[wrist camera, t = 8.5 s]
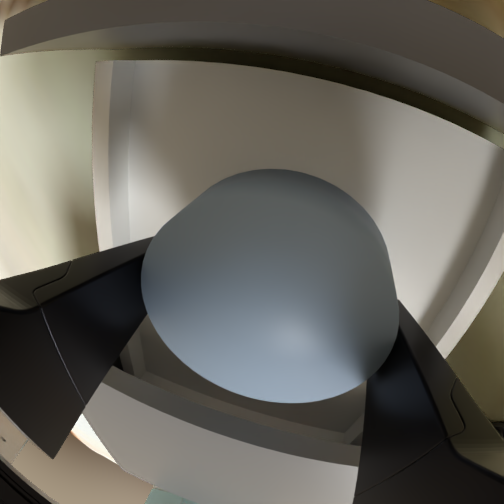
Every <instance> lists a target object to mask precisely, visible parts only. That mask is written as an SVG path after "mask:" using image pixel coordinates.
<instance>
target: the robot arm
mask: <svg viewBox="0 0 504 504" xmlns="http://www.w3.org/2000/svg"><path fill="white" fill-rule="evenodd" d="M153 237H154V236H152V237H149V238H145V239H142V240H138V241H135V242H131V243H128V244H124V245H121V246H117V247H114V248H110V249H107V250H104V251H100V252H97V253H94V254H90V255H87V256H84V257H81V258H77V259H74V260H72V261H67V262H64V263H61V264H58V265H54V266H51V267H48V268H44V269H40V270H36V271H33V272H29V273H25V274H21V275H17V276H13V277H9V278H5V279H1V280H0V504H59V503H57V502H56V501H55V500H53V499H52V498H51V497H49V496H48V495H47V494H45V493H44V492H43V491H41V490H40V489H39V488H38V487H36V486H35V485H34V484H33V483H32V482H30V481H29V480H28V479H27V478H25V477H24V476H23V475H22V474H21V473H20V472H19V471H18V470H16V469H15V468H14V467H13V466H12V465H11V464H12V463H13V461H14V460H15V458H16V457H17V455H18V454H19V452H20V451H21V450H22V448H23V447H24V445H25V444H26V443H27V441H30V442H31V443H32V444H33V445H34V446H36V447H37V448H38V449H40V450H41V451H42V452H43V453H45V454H46V455H47V456H48V457H50V458H51V459H54V457H55V456H56V454H57V453H58V451H59V450H60V448H61V446H62V445H63V443H64V441H65V440H66V438H67V436H68V435H69V433H70V431H71V430H72V428H73V426H74V425H75V423H76V422H77V420H78V418H79V417H80V415H81V414H82V412H83V410H84V409H85V407H86V405H87V404H88V402H89V401H90V399H91V397H92V396H93V394H94V393H95V391H96V390H97V388H98V387H99V385H100V384H101V382H102V380H103V379H104V377H105V376H106V374H107V373H108V371H109V370H110V368H111V367H112V365H113V364H114V362H115V361H116V359H117V358H118V356H119V355H120V353H121V352H122V350H123V349H124V347H125V346H126V344H127V343H128V342H129V340H130V339H131V337H132V336H133V334H134V333H135V331H136V330H137V328H138V327H139V326H140V324H141V323H142V321H143V320H144V318H145V317H146V316H147V314H148V313H147V311H146V307H145V304H144V300H143V295H142V289H141V271H142V264H143V260H144V257H145V254H146V251H147V248H148V247H149V245H150V243H151V241H152V239H153ZM397 300H398V299H397ZM398 306H399V326H398V332H397V337H396V340H395V342H394V345H393V348H392V350H391V352H390V354H389V355H388V357H387V359H386V360H385V362H384V363H383V364H382V365H381V367H380V368H379V369H378V370H377V371H376V372H375V373H374V374H373V375H372V376H371V377H370V378H368V379H367V383H366V400H365V413H364V424H363V435H362V444H361V452H360V460H359V467H358V474H357V481H356V487H355V493H354V498H353V503H352V504H504V423H490V421H489V420H488V419H487V417H486V416H485V415H484V413H483V412H482V411H481V409H480V408H479V407H478V405H477V404H476V403H475V401H474V400H473V399H472V397H471V396H470V394H469V393H468V392H467V390H466V389H465V387H464V386H463V384H462V383H461V382H460V380H459V379H458V378H456V377H457V376H456V374H455V373H454V372H453V370H452V369H451V367H450V366H449V364H448V363H447V362H446V360H445V359H444V358H443V356H442V355H441V353H440V352H439V351H438V349H437V348H436V347H435V345H434V344H433V343H432V341H431V340H430V339H429V337H428V336H427V335H426V333H425V332H424V331H423V329H422V328H421V327H420V325H419V324H418V323H417V322H416V320H415V319H414V318H413V316H412V315H411V314H410V313H409V311H408V310H407V309H406V308H405V306H404V305H403V304H402V303H401V301H400V300H398Z"/></svg>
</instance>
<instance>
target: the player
mask: <svg viewBox="0 0 504 504" xmlns="http://www.w3.org/2000/svg"><path fill="white" fill-rule="evenodd" d="M82 413H83V415H84V417H85V418H86V420H87V421H88V423H89V424H90V426H91V427H92V429H93V430H94V432H95V433H96V435H97V436H98V438H99V439H100V441H101V442H102V443H103V445H104V446H105V448H106V449H107V450H108V452H109V453H110V454H111V456H112V457H113V458H114V460H115V461H116V462H117V464H118V465H119V466H120V467H121V469H122V470H123V471H125V472H127V473H129V474H131V475H133V476H135V477H137V478H139V479H141V480H143V481H145V482H147V483H150V484H152V485H154V486H156V487H159V488H161V489H163V490H165V491H168V492H170V493H173V494H175V495H178V496H180V497H183V498H185V499H188V500H191V501H193V502H196V503H199V504H352V503H353V498H354V493H355V487H356V481H357V474H358V467H359V460H360V452H361V446H355V445H349V444H343V443H338V442H333V441H327V440H322V439H318V438H313V437H308V436H304V435H300V434H295V433H291V432H287V431H283V430H280V429H276V428H272V427H268V426H265V425H261V424H258V423H255V422H251V421H248V420H245V419H241V418H238V417H235V416H232V415H229V414H226V413H223V412H220V411H217V410H215V409H212V408H209V407H206V406H203V405H201V404H198V403H195V402H193V401H190V400H188V399H185V398H183V397H180V396H178V395H175V394H173V393H170V392H168V391H166V390H163V389H161V388H159V387H156V386H154V385H152V384H150V383H147V382H145V381H143V380H141V379H139V378H137V377H135V376H132V375H130V374H128V373H126V372H124V370H123V367H122V363H121V359H120V355H119V356H118V358H117V359H116V361H115V362H114V364H113V365H112V367H111V368H110V370H109V371H108V373H107V374H106V376H105V377H104V379H103V380H102V382H101V384H100V385H99V387H98V388H97V390H96V391H95V393H94V394H93V396H92V397H91V399H90V401H89V402H88V404H87V405H86V407H85V409H84V410H83V412H82Z"/></svg>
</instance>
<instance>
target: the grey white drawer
mask: <svg viewBox="0 0 504 504" xmlns="http://www.w3.org/2000/svg"><path fill="white" fill-rule="evenodd" d="M159 47H184V48H210V49H225V50H236V51H246V52H255V53H262V54H270V55H276V56H283V57H289V58H294V59H300V60H305V61H310V62H315V63H319V64H324V65H328V66H332V67H336V68H340V69H344V70H348V71H352V72H355V73H359V74H363V75H366V76H369V77H373V78H376V79H379V80H382V81H385V82H388V83H391V84H394V85H397V86H400V87H403V88H406V89H408V90H411V91H414V92H416V93H419V94H421V95H424V96H427V97H429V98H431V99H434V100H436V101H439V102H441V103H443V104H445V105H448V106H450V107H452V108H454V109H457V110H459V111H461V112H463V113H465V114H467V115H469V116H471V117H473V118H475V119H477V120H479V121H481V122H483V123H485V124H487V125H489V126H490V127H492V128H494V129H496V130H498V131H499V132H501V133H503V134H504V38H502V37H500V36H499V35H497V34H495V33H494V32H492V31H490V30H488V29H487V28H485V27H483V26H481V25H479V24H478V23H476V22H474V21H472V20H470V19H468V18H466V17H464V16H462V15H460V14H458V13H456V12H453V11H451V10H449V9H447V8H445V7H442V6H440V5H438V4H435V3H433V2H430V1H428V0H48V1H45V2H43V3H41V4H38V5H36V6H34V7H31V8H29V9H27V10H25V11H23V12H21V13H18V14H16V15H14V16H12V17H10V18H8V19H7V20H5V23H4V29H3V36H2V44H1V54H0V56H6V55H13V54H20V53H29V52H40V51H54V50H79V49H103V50H119V49H133V48H159ZM92 168H93V189H94V204H95V216H96V226H97V236H98V244H99V252H100V251H104V250H107V249H110V248H114V247H117V246H121V245H124V244H128V243H131V242H135V241H138V240H142V239H145V238H149V237H152V236H155V235H156V234H157V232H158V231H159V230H160V229H161V227H162V226H163V225H165V224H166V223H167V222H168V221H169V220H170V219H171V218H173V217H174V216H175V215H176V214H177V213H179V212H180V211H181V210H182V209H183V208H185V207H186V206H187V205H188V204H190V203H191V202H192V201H193V200H194V199H196V198H197V197H198V196H199V195H201V194H202V193H203V192H204V191H206V190H207V189H208V188H209V187H211V186H212V185H214V184H216V183H218V182H219V181H221V180H223V179H225V178H228V177H230V176H233V175H235V174H238V173H242V172H247V171H251V170H259V169H286V170H292V171H297V172H302V173H306V174H309V175H312V176H315V177H318V178H321V179H323V180H325V181H327V182H329V183H331V184H333V185H335V186H337V187H338V188H340V189H341V190H343V191H344V192H345V193H347V194H348V195H350V196H351V197H352V198H353V199H354V200H356V201H357V202H358V203H359V204H360V205H361V206H362V207H363V208H364V209H365V210H366V212H367V213H368V214H369V215H370V216H371V218H372V219H373V220H374V222H375V223H376V225H377V227H378V229H379V230H380V232H381V234H382V236H383V239H384V241H385V244H386V246H387V250H388V254H389V259H390V263H391V268H392V273H393V278H394V283H395V288H396V294H397V299H398V300H400V301H401V303H402V304H403V305H404V306H405V308H406V309H407V310H408V311H409V313H410V314H411V315H412V316H413V318H414V319H415V320H416V322H417V323H418V324H419V325H420V327H421V328H422V329H423V331H424V332H425V333H426V335H427V336H428V337H429V339H430V340H431V341H432V343H433V344H434V345H435V347H436V348H437V349H438V351H439V352H440V353H441V355H442V356H443V358H444V359H446V357H447V356H448V355H449V353H450V352H451V351H452V350H453V348H454V347H455V346H456V344H457V343H458V342H459V340H460V339H461V337H462V336H463V335H464V333H465V332H466V331H467V329H468V328H469V326H470V325H471V323H472V322H473V320H474V319H475V317H476V316H477V314H478V313H479V311H480V310H481V308H482V307H483V305H484V304H485V302H486V300H487V299H488V297H489V296H490V294H491V292H492V291H493V289H494V287H495V286H496V284H497V282H498V280H499V279H500V277H501V275H502V273H503V272H504V149H503V148H501V147H499V146H497V145H495V144H494V143H492V142H490V141H488V140H486V139H484V138H482V137H480V136H478V135H476V134H474V133H472V132H470V131H468V130H466V129H464V128H462V127H460V126H458V125H455V124H453V123H451V122H449V121H447V120H444V119H442V118H440V117H437V116H435V115H432V114H430V113H428V112H425V111H422V110H420V109H417V108H415V107H412V106H409V105H407V104H404V103H401V102H398V101H395V100H393V99H390V98H387V97H384V96H380V95H377V94H374V93H371V92H368V91H364V90H361V89H357V88H354V87H350V86H347V85H343V84H339V83H335V82H331V81H327V80H323V79H318V78H314V77H309V76H305V75H300V74H295V73H289V72H284V71H278V70H272V69H266V68H259V67H252V66H244V65H235V64H226V63H214V62H200V61H180V60H109V61H97V62H96V66H95V77H94V91H93V111H92ZM120 359H121V363H122V367H123V370H124V372H126V373H128V374H130V375H132V376H135V377H137V378H139V379H141V380H143V381H145V382H147V383H150V384H152V385H154V386H156V387H159V388H161V389H163V390H166V391H168V392H170V393H173V394H175V395H178V396H180V397H183V398H185V399H188V400H190V401H193V402H195V403H198V404H201V405H203V406H206V407H209V408H212V409H215V410H217V411H220V412H223V413H226V414H229V415H232V416H235V417H238V418H241V419H245V420H248V421H251V422H255V423H258V424H261V425H265V426H268V427H272V428H276V429H280V430H283V431H287V432H291V433H295V434H300V435H304V436H308V437H313V438H318V439H322V440H327V441H333V442H338V443H343V444H349V445H355V446H361V444H362V435H363V424H364V413H365V400H366V383H367V380H366V381H364V382H363V383H361V384H360V385H359V386H357V387H355V388H353V389H351V390H349V391H347V392H345V393H343V394H340V395H337V396H335V397H332V398H328V399H324V400H319V401H313V402H305V403H278V402H269V401H263V400H258V399H254V398H250V397H246V396H243V395H240V394H237V393H234V392H232V391H229V390H227V389H224V388H222V387H220V386H218V385H216V384H214V383H212V382H211V381H209V380H207V379H205V378H204V377H202V376H201V375H199V374H198V373H196V372H195V371H193V370H192V369H191V368H190V367H188V366H187V365H186V364H185V363H183V362H182V361H181V360H180V359H179V358H178V357H177V356H176V355H175V354H174V353H173V352H172V351H171V350H170V349H169V347H168V346H167V345H166V344H165V343H164V341H163V340H162V338H161V337H160V336H159V334H158V333H157V331H156V329H155V328H154V326H153V324H152V322H151V320H150V318H149V315H148V314H147V316H146V317H145V318H144V320H143V321H142V323H141V324H140V326H139V327H138V328H137V330H136V331H135V333H134V334H133V336H132V337H131V339H130V340H129V342H128V343H127V344H126V346H125V347H124V349H123V350H122V352H121V353H120Z"/></svg>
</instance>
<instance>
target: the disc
mask: <svg viewBox="0 0 504 504" xmlns="http://www.w3.org/2000/svg"><path fill="white" fill-rule="evenodd" d="M141 289H142V295H143V300H144V304H145V307H146V311H147V313H148V315H149V318H150V320H151V322H152V324H153V326H154V328H155V329H156V331H157V333H158V334H159V336H160V337H161V338H162V340H163V341H164V343H165V344H166V345H167V346H168V347H169V349H170V350H171V351H172V352H173V353H174V354H175V355H176V356H177V357H178V358H179V359H180V360H181V361H182V362H183V363H185V364H186V365H187V366H188V367H190V368H191V369H192V370H193V371H195V372H196V373H198V374H199V375H201V376H202V377H204V378H205V379H207V380H209V381H211V382H212V383H214V384H216V385H218V386H220V387H222V388H224V389H227V390H229V391H232V392H234V393H237V394H240V395H243V396H246V397H250V398H254V399H258V400H263V401H269V402H278V403H305V402H313V401H319V400H324V399H328V398H332V397H335V396H337V395H340V394H343V393H345V392H347V391H349V390H351V389H353V388H355V387H357V386H359V385H360V384H361V383H363V382H364V381H366V380H367V379H368V378H370V377H371V376H372V375H373V374H374V373H375V372H376V371H377V370H378V369H379V368H380V367H381V365H382V364H383V363H384V362H385V360H386V359H387V357H388V355H389V354H390V352H391V350H392V348H393V345H394V342H395V340H396V337H397V332H398V326H399V306H398V300H397V294H396V288H395V283H394V278H393V273H392V268H391V263H390V259H389V254H388V250H387V246H386V244H385V241H384V239H383V236H382V234H381V232H380V230H379V229H378V227H377V225H376V223H375V222H374V220H373V219H372V218H371V216H370V215H369V214H368V213H367V212H366V210H365V209H364V208H363V207H362V206H361V205H360V204H359V203H358V202H357V201H356V200H354V199H353V198H352V197H351V196H350V195H348V194H347V193H345V192H344V191H343V190H341V189H340V188H338V187H337V186H335V185H333V184H331V183H329V182H327V181H325V180H323V179H321V178H318V177H315V176H312V175H309V174H306V173H302V172H297V171H292V170H286V169H259V170H251V171H247V172H242V173H238V174H235V175H233V176H230V177H228V178H225V179H223V180H221V181H219V182H218V183H216V184H214V185H212V186H211V187H209V188H208V189H207V190H206V191H204V192H203V193H202V194H201V195H199V196H198V197H197V198H196V199H194V200H193V201H192V202H191V203H190V204H188V205H187V206H186V207H185V208H183V209H182V210H181V211H180V212H179V213H177V214H176V215H175V216H174V217H173V218H171V219H170V220H169V221H168V222H167V223H166V224H165V225H163V226H162V227H161V229H160V230H159V231H158V232H157V234H156V235H155V236H154V237H153V239H152V241H151V243H150V245H149V247H148V248H147V251H146V254H145V257H144V260H143V264H142V271H141Z"/></svg>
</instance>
